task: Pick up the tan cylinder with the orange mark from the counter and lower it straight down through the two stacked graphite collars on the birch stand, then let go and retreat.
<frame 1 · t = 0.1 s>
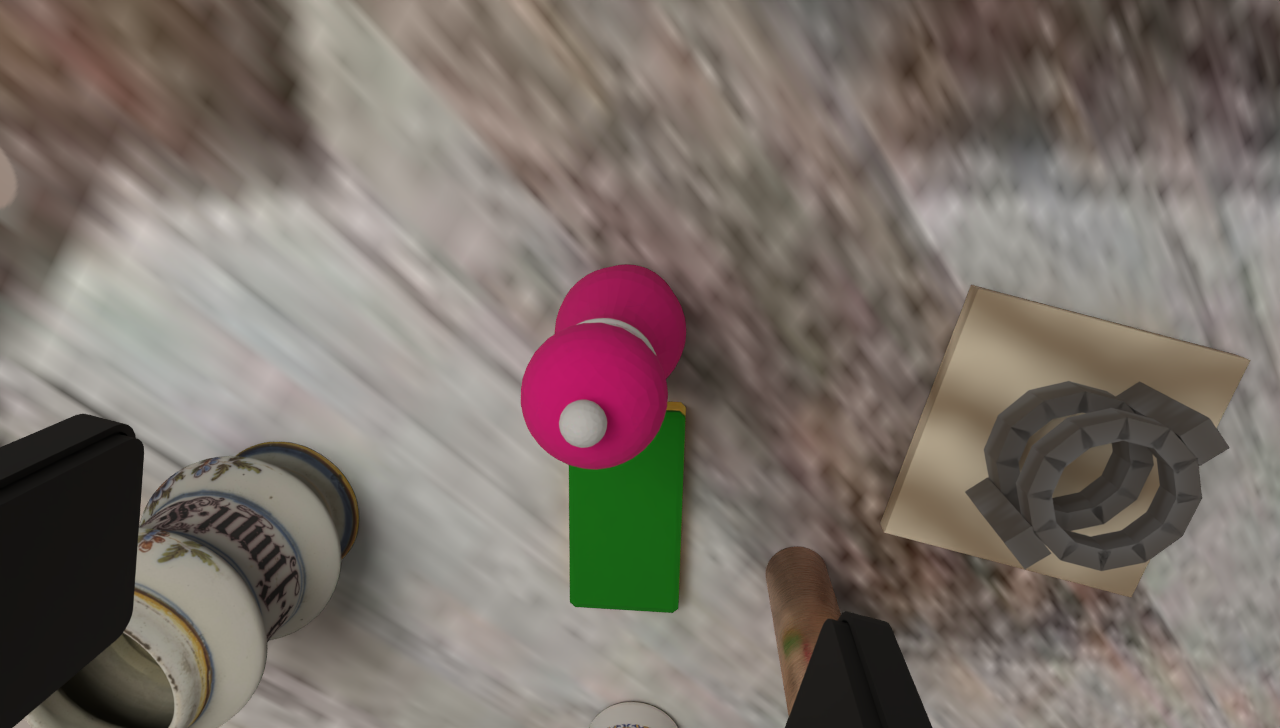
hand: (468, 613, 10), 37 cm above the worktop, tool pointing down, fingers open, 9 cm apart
tan cylinder: (796, 573, 50), on the worktop
pepper mill: (627, 314, 47), on the worktop
dish sponge: (628, 496, 51), on the worktop
collar stand: (1049, 443, 47), on the worktop
apothecary jar: (290, 507, 52), on the worktop
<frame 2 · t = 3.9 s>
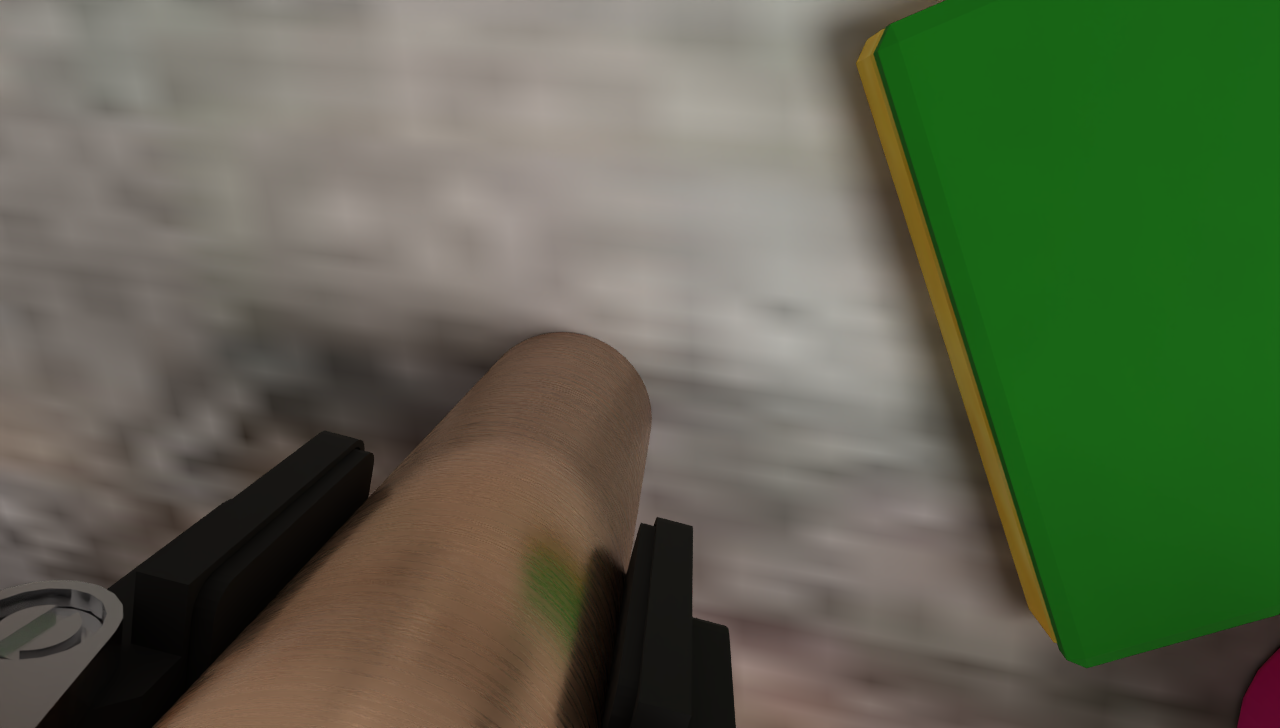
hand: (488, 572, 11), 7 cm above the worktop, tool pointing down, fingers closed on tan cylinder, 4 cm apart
tan cylinder: (565, 416, 18), on the worktop, touching gripper
dish sponge: (1101, 296, 17), on the worktop
when the fingers open (9 cm above the worktop, at t = 10.3 s): tan cylinder stays where it is, resting on collar stand.
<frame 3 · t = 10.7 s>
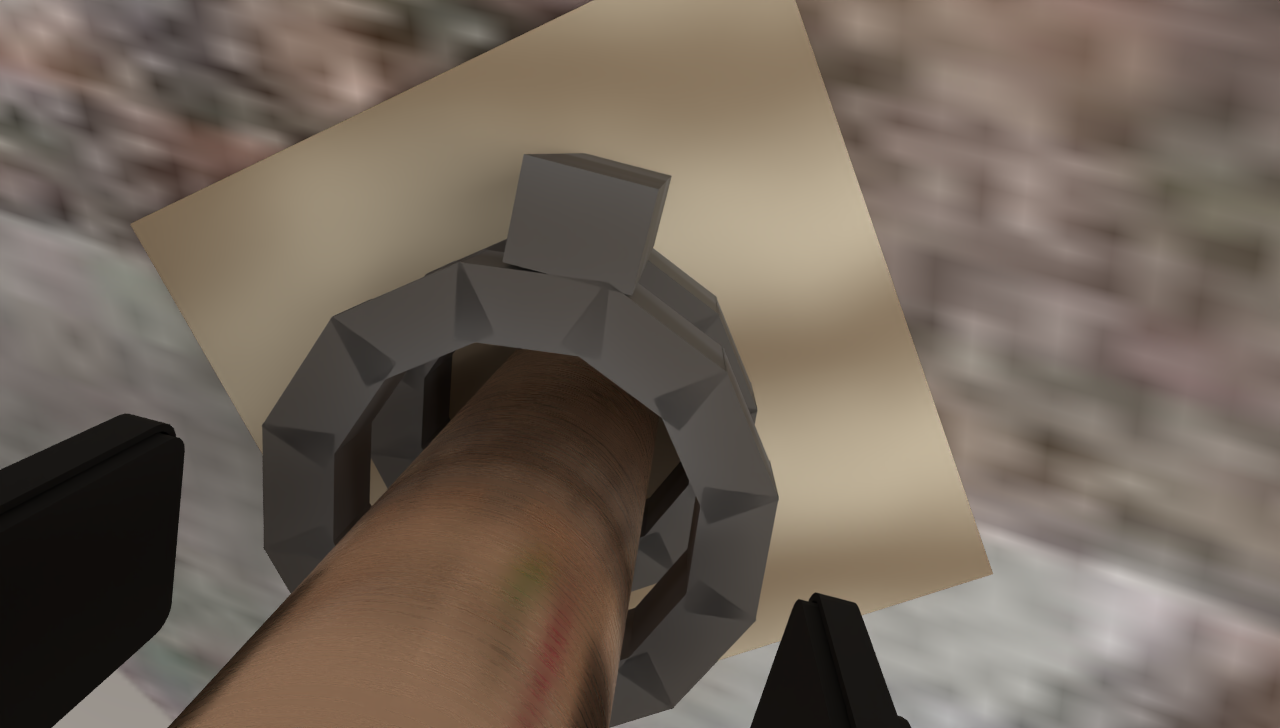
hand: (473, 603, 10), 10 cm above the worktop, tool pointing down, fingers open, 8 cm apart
tan cylinder: (577, 404, 19), point 1 cm above the worktop, touching collar stand
collar stand: (578, 388, 20), on the worktop
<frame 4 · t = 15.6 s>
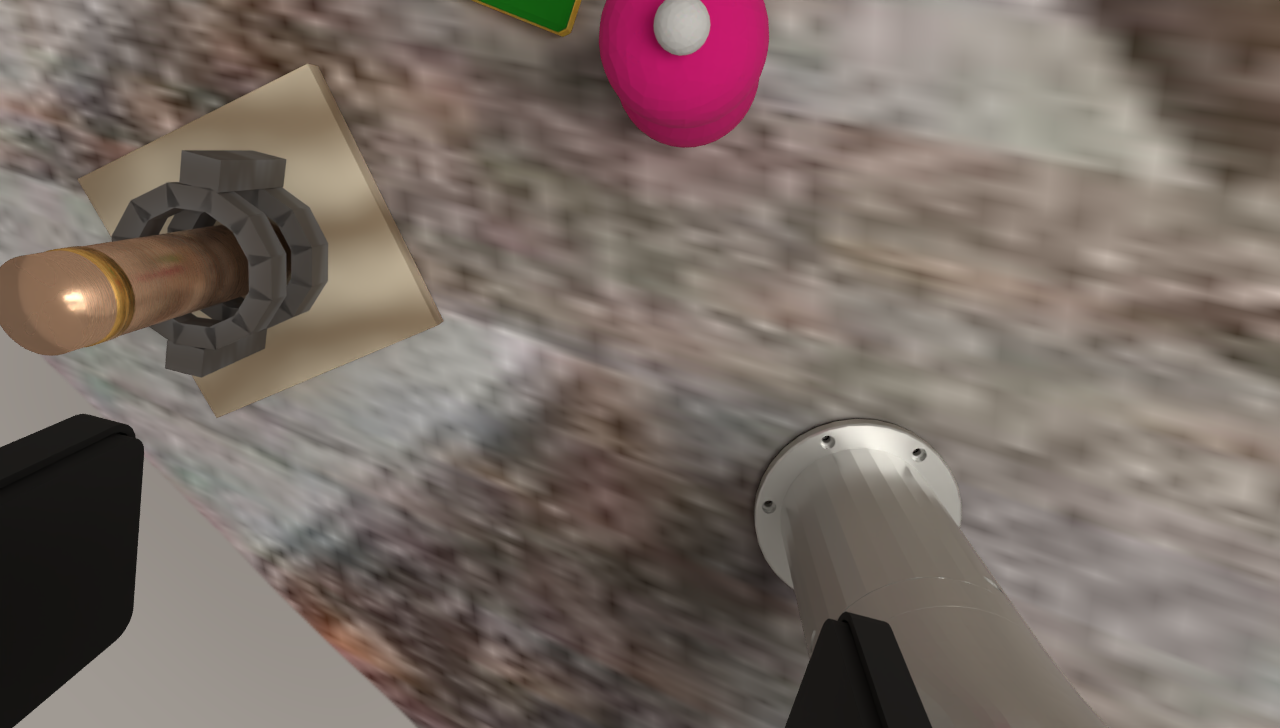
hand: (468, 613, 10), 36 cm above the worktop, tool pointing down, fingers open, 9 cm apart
tan cylinder: (261, 253, 45), point 1 cm above the worktop, touching collar stand
pepper mill: (687, 80, 42), on the worktop
collar stand: (269, 250, 47), on the worktop
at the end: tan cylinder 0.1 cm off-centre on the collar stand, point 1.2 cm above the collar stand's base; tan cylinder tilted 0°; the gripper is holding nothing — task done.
